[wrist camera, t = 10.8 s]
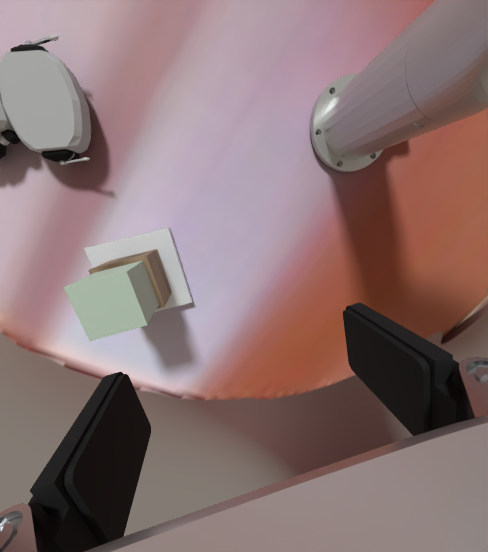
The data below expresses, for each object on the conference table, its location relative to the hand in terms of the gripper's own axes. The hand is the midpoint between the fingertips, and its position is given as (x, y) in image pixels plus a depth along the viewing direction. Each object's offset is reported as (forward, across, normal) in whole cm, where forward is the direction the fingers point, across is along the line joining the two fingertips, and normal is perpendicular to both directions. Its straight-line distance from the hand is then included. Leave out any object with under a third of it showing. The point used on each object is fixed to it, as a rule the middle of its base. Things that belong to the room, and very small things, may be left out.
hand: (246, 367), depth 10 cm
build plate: (+28, +12, 0) cm, 31 cm away
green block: (+21, +12, 0) cm, 24 cm away
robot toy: (+29, +18, -23) cm, 41 cm away
